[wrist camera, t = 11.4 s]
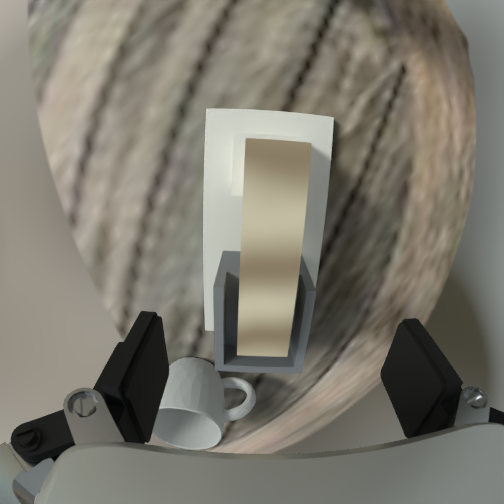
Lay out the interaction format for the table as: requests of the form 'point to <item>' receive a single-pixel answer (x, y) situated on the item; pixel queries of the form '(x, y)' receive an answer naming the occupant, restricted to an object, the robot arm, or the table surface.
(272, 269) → the top rail
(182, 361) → the mug
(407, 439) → the robot arm
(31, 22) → the table surface
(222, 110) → the cup bracket
